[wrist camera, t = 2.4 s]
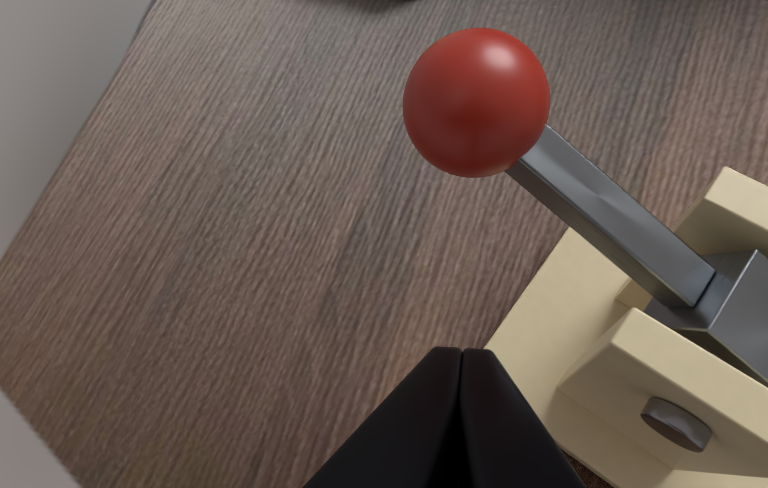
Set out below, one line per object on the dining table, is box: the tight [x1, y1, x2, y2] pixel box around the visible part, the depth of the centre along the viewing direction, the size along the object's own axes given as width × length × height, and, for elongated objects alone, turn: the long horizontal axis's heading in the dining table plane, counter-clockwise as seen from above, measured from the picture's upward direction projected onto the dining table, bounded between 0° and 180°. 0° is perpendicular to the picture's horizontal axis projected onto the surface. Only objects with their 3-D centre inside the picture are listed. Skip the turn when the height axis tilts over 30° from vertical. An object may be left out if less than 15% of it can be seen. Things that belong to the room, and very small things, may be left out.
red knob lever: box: [403, 28, 768, 388], centre depth 12 cm, size 11×3×3 cm, turn 52°
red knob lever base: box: [484, 167, 768, 488], centre depth 16 cm, size 10×8×10 cm
